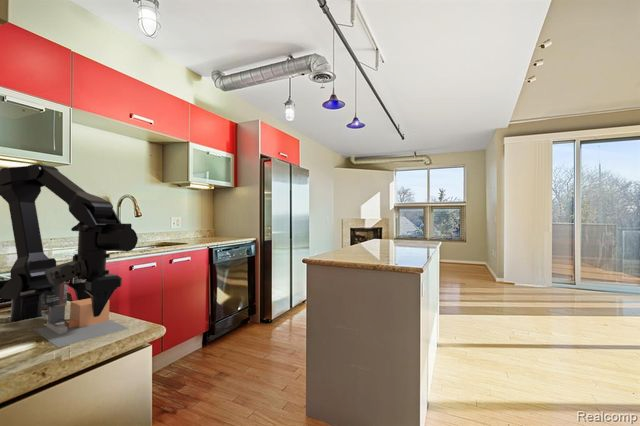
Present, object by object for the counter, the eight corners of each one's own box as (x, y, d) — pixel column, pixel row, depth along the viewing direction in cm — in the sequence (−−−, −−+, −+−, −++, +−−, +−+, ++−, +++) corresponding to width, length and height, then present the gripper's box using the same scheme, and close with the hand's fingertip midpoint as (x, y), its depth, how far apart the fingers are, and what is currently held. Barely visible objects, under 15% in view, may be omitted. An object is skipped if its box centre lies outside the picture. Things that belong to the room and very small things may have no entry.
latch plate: (32, 334, 68) (33, 324, 68) (99, 319, 79) (99, 310, 79) (57, 352, 59) (58, 341, 59) (129, 332, 70) (129, 323, 70)
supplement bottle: (64, 303, 92) (66, 266, 92) (68, 307, 88) (70, 268, 88) (37, 307, 87) (39, 268, 88) (41, 311, 83) (43, 271, 84)
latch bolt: (36, 317, 71) (36, 300, 71) (49, 315, 73) (50, 298, 73) (50, 326, 66) (51, 307, 66) (64, 323, 68) (65, 305, 68)
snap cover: (61, 323, 72) (62, 302, 72) (98, 316, 78) (99, 296, 78) (71, 329, 68) (72, 307, 68) (108, 320, 75) (109, 300, 75)
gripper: (37, 249, 73) (33, 314, 72) (65, 255, 62) (61, 331, 62) (91, 246, 82) (88, 304, 81) (124, 251, 72) (121, 317, 71)
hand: (89, 313), depth 74 cm, fingers open, 8 cm apart
